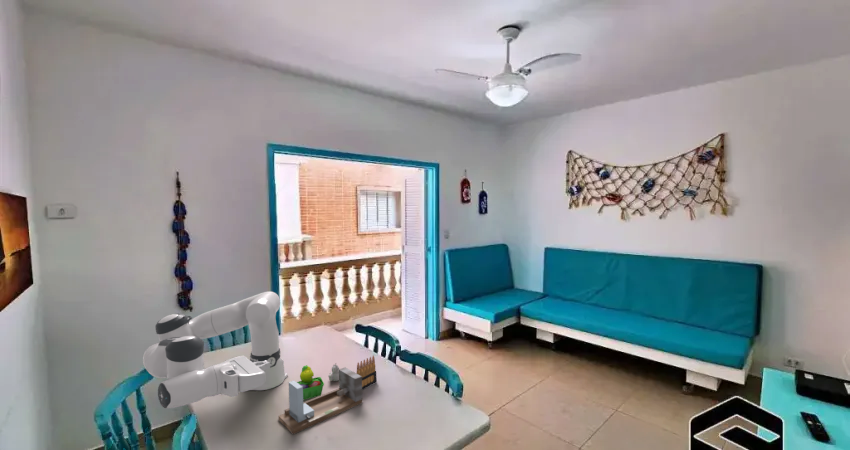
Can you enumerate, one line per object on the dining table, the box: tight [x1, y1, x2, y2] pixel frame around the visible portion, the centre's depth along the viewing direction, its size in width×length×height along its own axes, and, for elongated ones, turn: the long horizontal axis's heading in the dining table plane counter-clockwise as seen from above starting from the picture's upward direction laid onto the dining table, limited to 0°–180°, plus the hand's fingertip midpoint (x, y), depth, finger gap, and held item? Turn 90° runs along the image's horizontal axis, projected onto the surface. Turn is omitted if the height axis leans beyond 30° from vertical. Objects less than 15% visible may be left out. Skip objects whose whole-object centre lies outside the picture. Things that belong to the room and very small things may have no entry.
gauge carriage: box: [288, 379, 314, 423], centre depth 131 cm, size 10×6×12 cm, turn 44°
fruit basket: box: [296, 364, 325, 401], centre depth 150 cm, size 11×9×11 cm
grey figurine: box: [328, 363, 340, 382], centre depth 162 cm, size 5×7×8 cm
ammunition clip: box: [355, 355, 378, 391], centre depth 156 cm, size 11×2×12 cm, turn 143°
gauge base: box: [278, 366, 363, 435], centre depth 137 cm, size 12×28×10 cm, turn 134°
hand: (268, 363), depth 123 cm, fingers closed
